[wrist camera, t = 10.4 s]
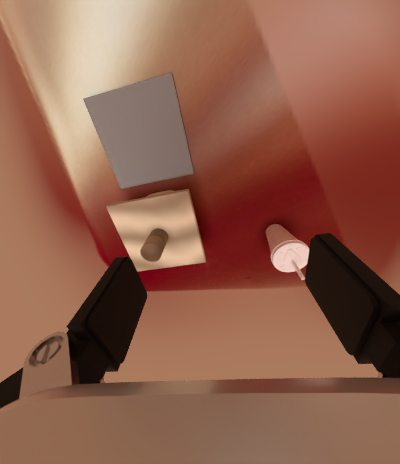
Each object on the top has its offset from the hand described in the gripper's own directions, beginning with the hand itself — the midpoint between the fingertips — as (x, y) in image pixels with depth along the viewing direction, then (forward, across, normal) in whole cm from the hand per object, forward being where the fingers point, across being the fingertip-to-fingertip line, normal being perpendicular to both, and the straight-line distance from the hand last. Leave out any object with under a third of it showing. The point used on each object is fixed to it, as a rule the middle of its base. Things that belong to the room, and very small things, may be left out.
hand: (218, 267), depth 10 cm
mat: (+28, +11, -6) cm, 31 cm away
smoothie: (+28, -12, +16) cm, 34 cm away
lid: (+21, +11, +9) cm, 25 cm away
